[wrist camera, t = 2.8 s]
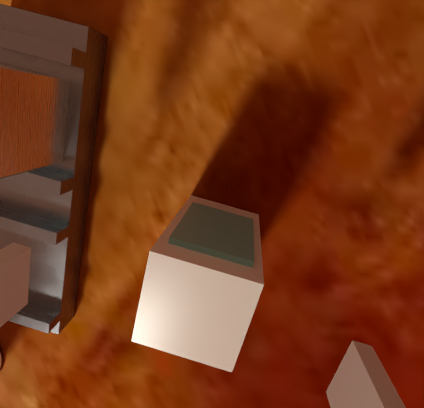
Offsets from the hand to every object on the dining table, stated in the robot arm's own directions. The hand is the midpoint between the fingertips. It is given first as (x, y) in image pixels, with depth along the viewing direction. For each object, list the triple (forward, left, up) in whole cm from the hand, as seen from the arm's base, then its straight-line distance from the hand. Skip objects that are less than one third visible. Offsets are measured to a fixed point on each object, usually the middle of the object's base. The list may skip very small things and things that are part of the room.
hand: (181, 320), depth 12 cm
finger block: (0, 0, -8) cm, 8 cm away
